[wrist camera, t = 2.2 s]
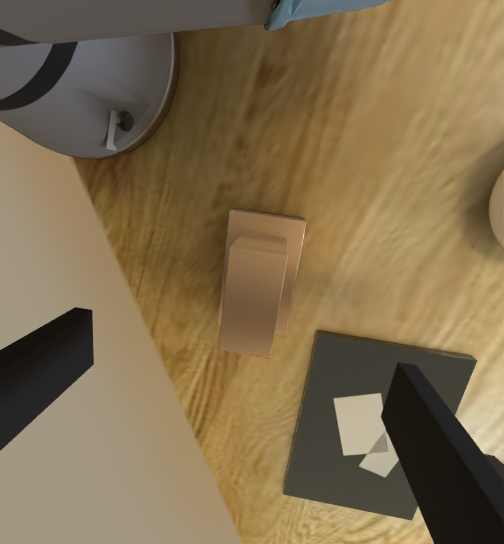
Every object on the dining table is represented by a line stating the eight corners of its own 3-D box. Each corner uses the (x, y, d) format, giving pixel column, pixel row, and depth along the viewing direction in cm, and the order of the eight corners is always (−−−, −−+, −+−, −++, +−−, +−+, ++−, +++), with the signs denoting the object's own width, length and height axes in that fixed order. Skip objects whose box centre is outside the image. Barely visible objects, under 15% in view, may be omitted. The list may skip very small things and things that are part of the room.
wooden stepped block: (234, 208, 25) (210, 218, 17) (304, 218, 25) (314, 233, 17) (222, 314, 28) (197, 366, 20) (285, 324, 28) (285, 382, 19)
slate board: (317, 329, 27) (318, 334, 27) (471, 355, 26) (477, 361, 26) (283, 487, 33) (282, 495, 32) (409, 512, 32) (412, 521, 31)
